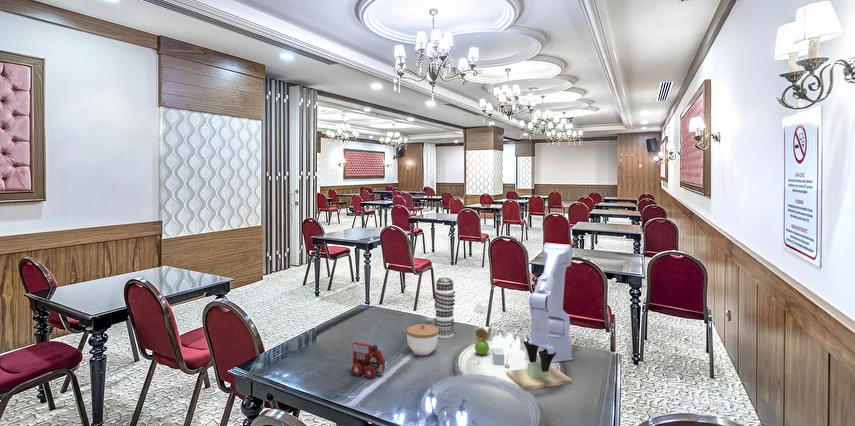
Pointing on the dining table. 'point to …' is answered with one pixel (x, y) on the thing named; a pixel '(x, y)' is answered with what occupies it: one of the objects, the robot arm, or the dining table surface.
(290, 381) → the dining table surface
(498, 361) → the blue brick
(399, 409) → the dining table surface
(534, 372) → the green brick
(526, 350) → the ivory brick
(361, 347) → the toy fire truck
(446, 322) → the banded tower model
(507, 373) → the birch board
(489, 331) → the snail figurine
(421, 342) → the lidded bowl
